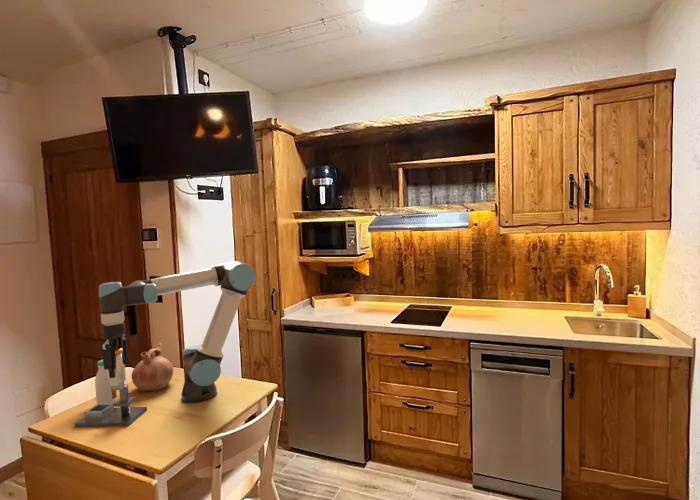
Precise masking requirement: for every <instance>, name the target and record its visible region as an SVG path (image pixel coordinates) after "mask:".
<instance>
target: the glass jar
mask: <svg viewBox="0 0 700 500" xmlns="http://www.w3.org/2000/svg"><path fill="white" fill-rule="evenodd" d="M122 352H123V348H118V350H116V351H115V354H116V368H117V371H118V383H119V385H118V386H112V388H113V390H116V391H119V390H120V389H123V388H124V387H125V385H126V384H125V381H124V373H123V361H122Z"/></svg>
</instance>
